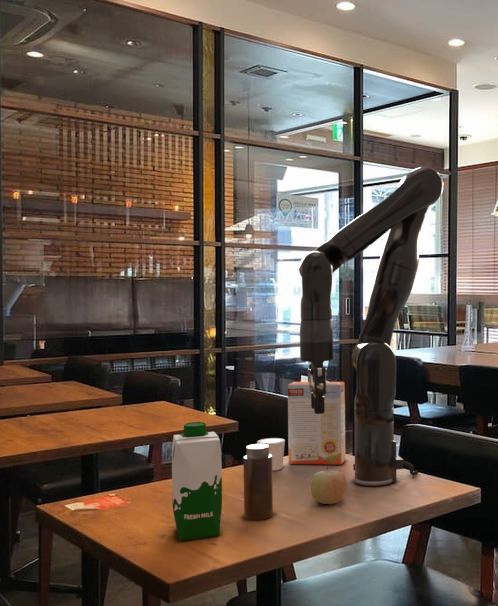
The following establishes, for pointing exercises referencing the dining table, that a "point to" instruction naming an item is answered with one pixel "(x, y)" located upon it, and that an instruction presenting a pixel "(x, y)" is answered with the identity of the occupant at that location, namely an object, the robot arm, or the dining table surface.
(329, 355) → the robot arm
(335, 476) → the fruit
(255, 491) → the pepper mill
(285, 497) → the dining table surface
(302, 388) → the cracker box
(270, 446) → the white cup
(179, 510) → the milk carton
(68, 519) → the dining table surface
